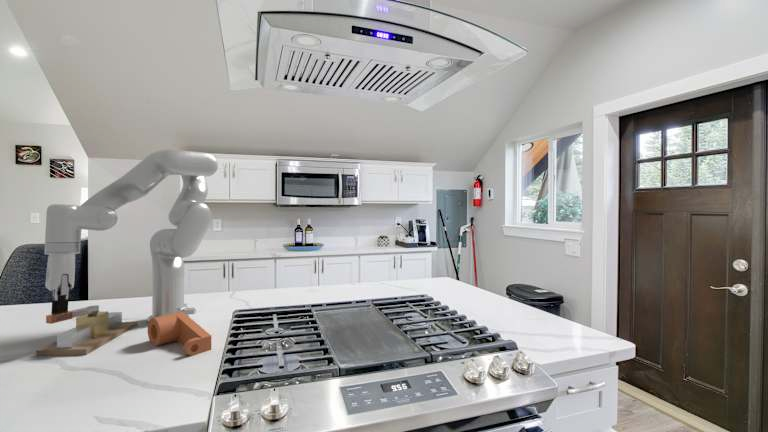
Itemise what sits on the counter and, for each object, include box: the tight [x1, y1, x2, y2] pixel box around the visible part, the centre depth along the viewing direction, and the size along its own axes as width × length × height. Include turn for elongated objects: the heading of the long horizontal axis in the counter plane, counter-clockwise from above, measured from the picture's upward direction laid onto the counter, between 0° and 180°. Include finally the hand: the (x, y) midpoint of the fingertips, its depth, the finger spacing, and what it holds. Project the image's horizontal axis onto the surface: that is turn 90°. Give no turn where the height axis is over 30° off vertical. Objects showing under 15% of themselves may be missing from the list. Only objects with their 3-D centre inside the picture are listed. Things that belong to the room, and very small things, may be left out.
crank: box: [147, 312, 212, 356], centre depth 103 cm, size 20×8×8 cm, turn 55°
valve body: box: [56, 310, 123, 349], centre depth 107 cm, size 22×5×6 cm, turn 7°
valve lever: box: [45, 304, 100, 325], centre depth 102 cm, size 12×3×2 cm, turn 162°
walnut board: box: [35, 321, 138, 357], centre depth 107 cm, size 24×12×2 cm, turn 7°
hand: (59, 314), depth 101 cm, fingers closed
